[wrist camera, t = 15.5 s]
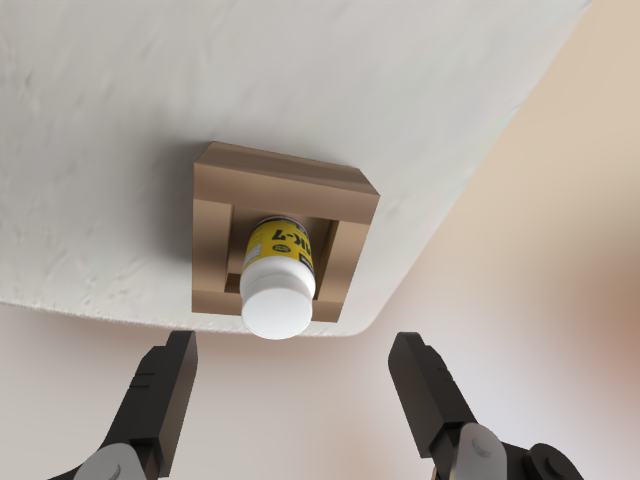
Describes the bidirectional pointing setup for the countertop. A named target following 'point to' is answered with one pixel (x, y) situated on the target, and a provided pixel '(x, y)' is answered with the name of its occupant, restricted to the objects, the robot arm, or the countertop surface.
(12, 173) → the countertop surface
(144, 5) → the countertop surface
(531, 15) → the countertop surface
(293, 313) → the supplement bottle
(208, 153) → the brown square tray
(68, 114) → the countertop surface
